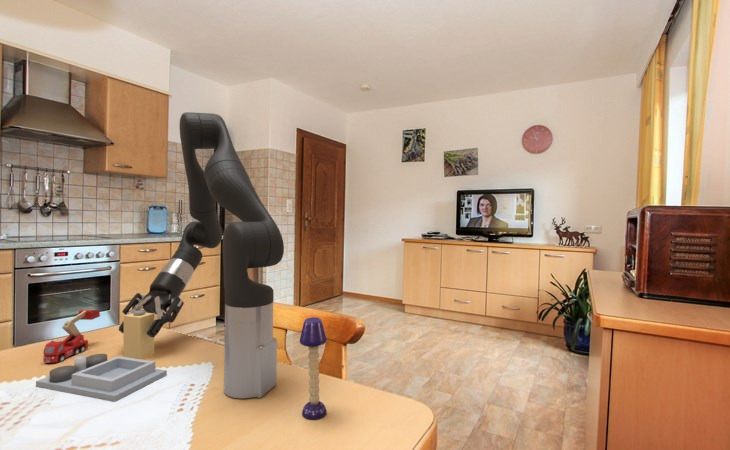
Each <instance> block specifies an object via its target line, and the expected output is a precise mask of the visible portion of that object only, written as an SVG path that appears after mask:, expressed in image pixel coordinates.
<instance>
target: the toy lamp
mask: <svg viewBox="0 0 730 450" xmlns="http://www.w3.org/2000/svg"><path fill="white" fill-rule="evenodd" d="M323 324H324V323H323V320H322V319H321V318H320V317H316V316H315V317H314V316H313V317H307V318H305V319H304V321H303V326H302V328H301V333H300V336H299V344H300V345H301V346H303V347H307V348H308V351H309V352H308V359H309V362H308V367H309V369H308V376H309V379H308V385H309V388H308V392H309V393H308V394H309V397H308V402H307V403H306V404H305V405H304V406H303V408H302V412H301V413H302V416H303V418H305V419H307V420H312V421H313V420H314V421H315V420H319V419H322V418H324V417H325V416H326V415H327V407H326V405H325V403H323V402H322V401H320V395H319V394H320V387H319V385H320V379H319V375H320V371H319V366H320V361H319V357H320V353H319V349H320V346H322V345H325V344H326V342H327V335H326V332H325V328H324V325H323Z"/></svg>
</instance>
